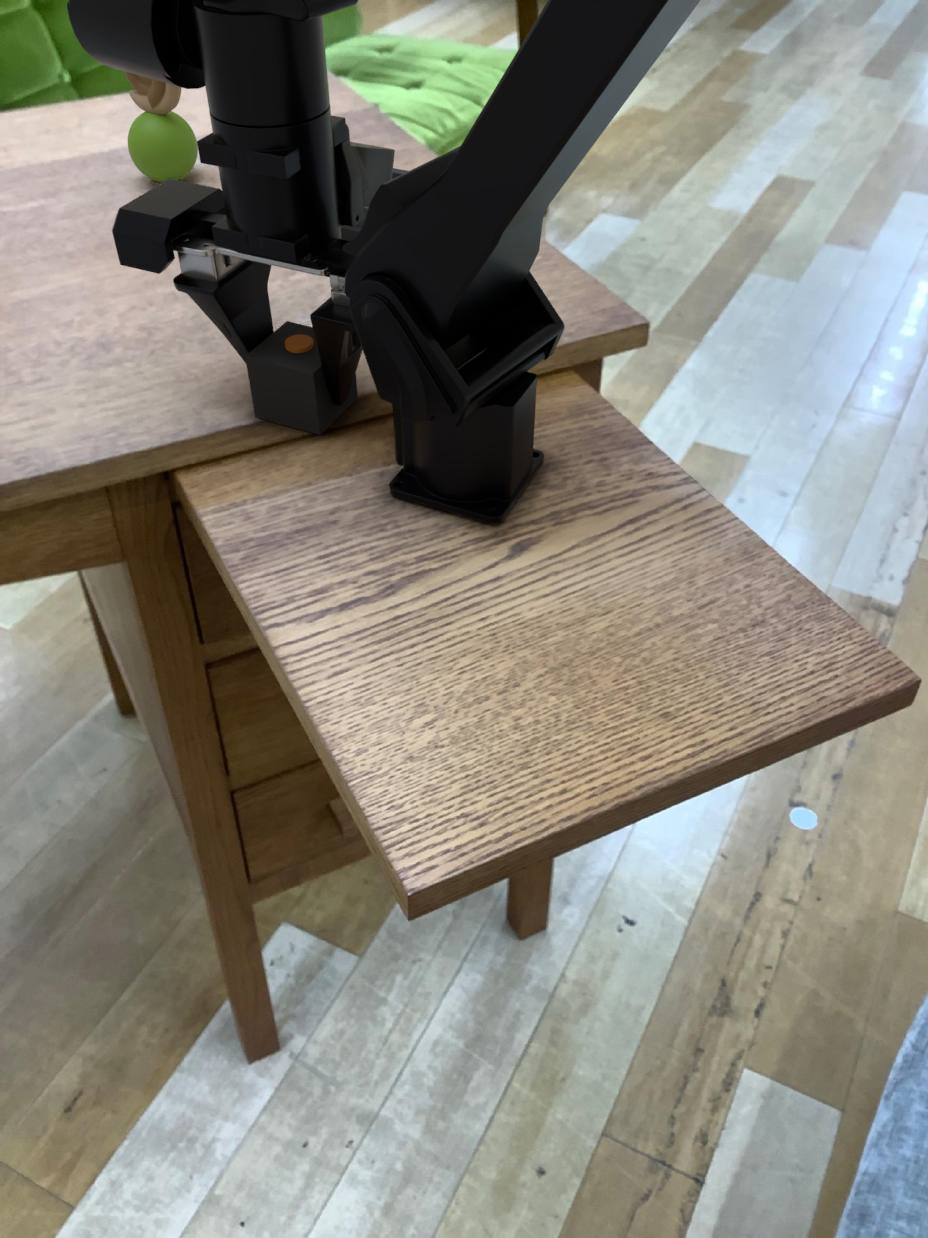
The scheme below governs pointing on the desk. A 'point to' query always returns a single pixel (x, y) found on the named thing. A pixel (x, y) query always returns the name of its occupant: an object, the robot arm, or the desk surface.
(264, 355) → the pad block
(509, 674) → the desk surface
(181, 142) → the snail figurine
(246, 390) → the desk surface
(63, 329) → the desk surface
